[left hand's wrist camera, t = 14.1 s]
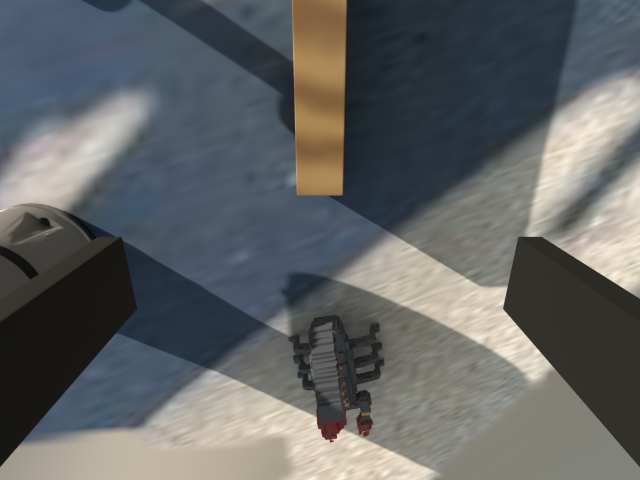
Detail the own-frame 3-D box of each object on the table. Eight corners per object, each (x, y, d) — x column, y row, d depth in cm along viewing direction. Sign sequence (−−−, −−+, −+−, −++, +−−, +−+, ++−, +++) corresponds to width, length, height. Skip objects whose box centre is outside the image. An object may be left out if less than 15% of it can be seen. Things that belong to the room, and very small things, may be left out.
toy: (371, 268, 50) (397, 358, 33) (391, 414, 59) (420, 542, 42) (275, 284, 50) (252, 379, 33) (310, 424, 60) (307, 554, 43)
